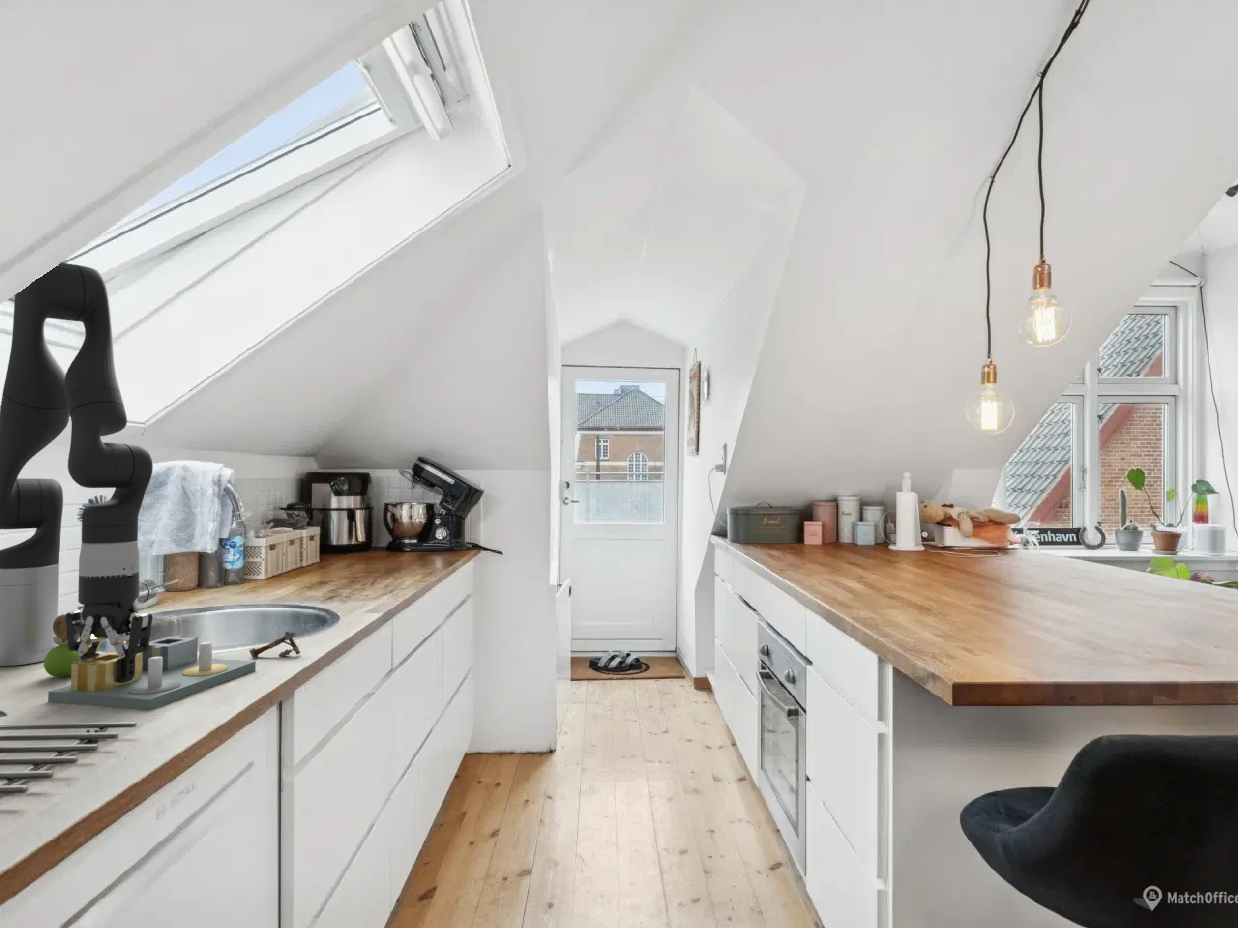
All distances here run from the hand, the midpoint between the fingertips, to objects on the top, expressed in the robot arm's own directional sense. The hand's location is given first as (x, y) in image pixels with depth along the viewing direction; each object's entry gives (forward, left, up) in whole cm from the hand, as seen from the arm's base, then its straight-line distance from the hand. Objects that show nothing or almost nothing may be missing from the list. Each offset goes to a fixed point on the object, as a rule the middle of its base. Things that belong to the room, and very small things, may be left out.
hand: (107, 679), depth 105 cm
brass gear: (0, 0, -1) cm, 1 cm away
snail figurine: (-15, +6, -2) cm, 16 cm away
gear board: (+4, +6, -2) cm, 7 cm away
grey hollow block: (0, +11, -1) cm, 11 cm away
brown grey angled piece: (+10, +25, -3) cm, 27 cm away
